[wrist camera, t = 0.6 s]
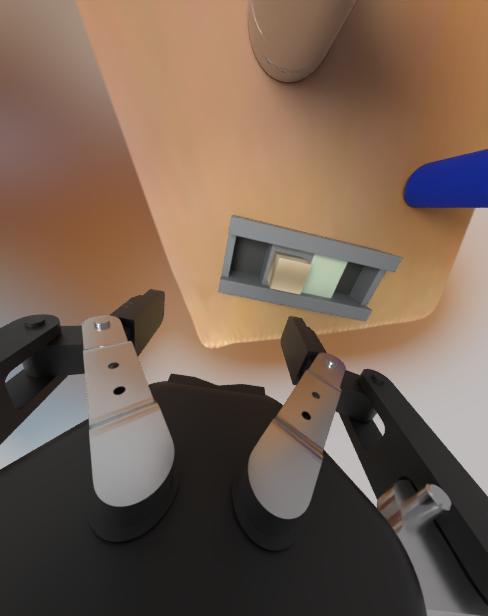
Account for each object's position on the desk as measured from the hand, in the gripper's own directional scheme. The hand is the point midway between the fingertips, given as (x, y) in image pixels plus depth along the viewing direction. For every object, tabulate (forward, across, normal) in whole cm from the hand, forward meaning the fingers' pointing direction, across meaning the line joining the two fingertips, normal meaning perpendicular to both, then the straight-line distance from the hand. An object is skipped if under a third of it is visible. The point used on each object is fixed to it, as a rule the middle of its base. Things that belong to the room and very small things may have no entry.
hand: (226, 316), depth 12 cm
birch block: (+16, -7, 0) cm, 18 cm away
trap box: (+20, -10, 0) cm, 23 cm away
